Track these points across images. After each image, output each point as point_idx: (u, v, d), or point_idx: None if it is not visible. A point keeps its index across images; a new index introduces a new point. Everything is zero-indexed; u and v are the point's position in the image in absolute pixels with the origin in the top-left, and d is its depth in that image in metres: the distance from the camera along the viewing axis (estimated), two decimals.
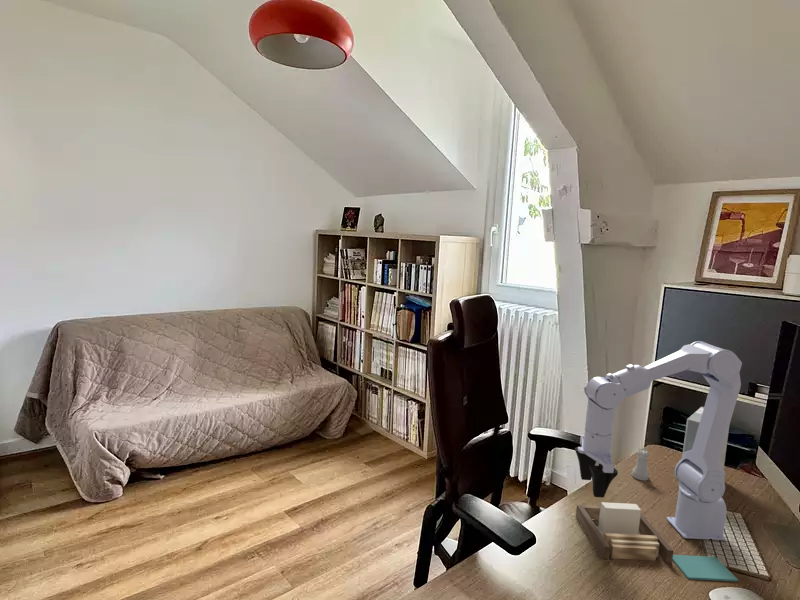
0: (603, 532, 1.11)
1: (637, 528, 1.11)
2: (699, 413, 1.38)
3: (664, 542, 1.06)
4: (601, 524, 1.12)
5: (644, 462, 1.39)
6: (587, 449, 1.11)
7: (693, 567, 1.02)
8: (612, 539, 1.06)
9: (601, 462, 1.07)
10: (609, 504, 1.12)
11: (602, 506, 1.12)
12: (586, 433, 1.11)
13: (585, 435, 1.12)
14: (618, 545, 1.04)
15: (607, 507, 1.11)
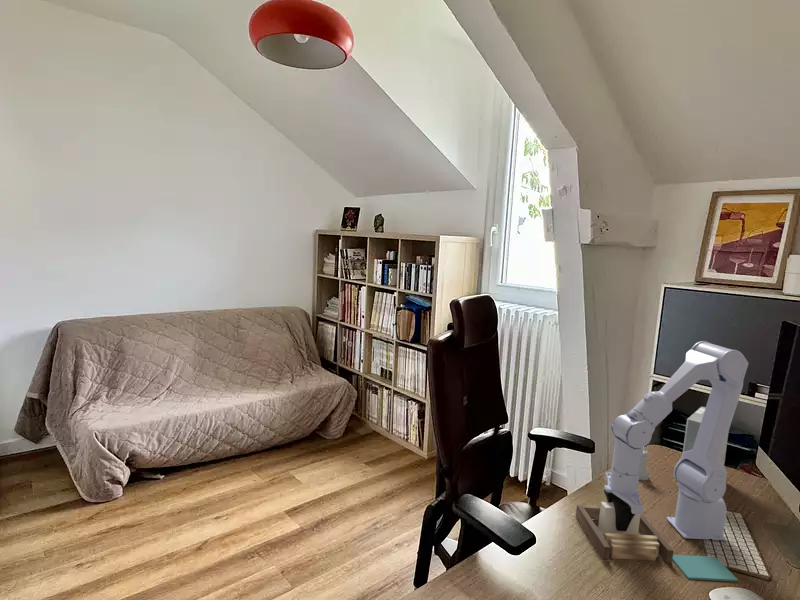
0: (603, 532, 1.11)
1: (637, 528, 1.11)
2: (699, 413, 1.38)
3: (664, 542, 1.06)
4: (601, 524, 1.12)
5: (644, 462, 1.39)
6: (614, 488, 1.10)
7: (693, 567, 1.02)
8: (612, 539, 1.06)
9: (630, 503, 1.05)
10: (609, 504, 1.12)
11: (602, 506, 1.12)
12: (613, 472, 1.10)
13: (612, 473, 1.11)
14: (618, 545, 1.04)
15: (607, 507, 1.11)
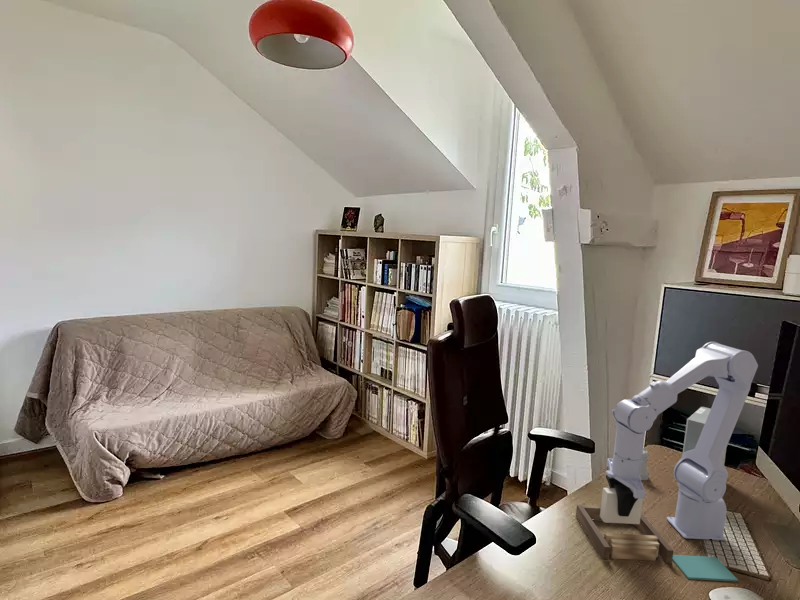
0: (605, 517, 1.11)
1: (639, 513, 1.11)
2: (699, 413, 1.38)
3: (664, 542, 1.06)
4: (603, 509, 1.12)
5: (644, 462, 1.39)
6: (616, 473, 1.09)
7: (693, 567, 1.02)
8: (612, 539, 1.06)
9: (632, 487, 1.05)
10: (611, 489, 1.12)
11: (604, 491, 1.12)
12: (615, 457, 1.10)
13: (614, 459, 1.10)
14: (618, 545, 1.04)
15: (609, 492, 1.10)
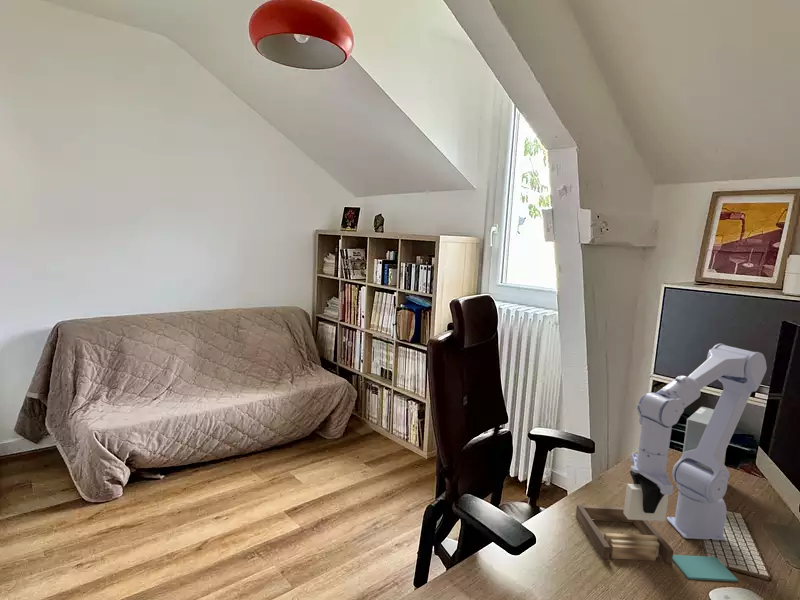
0: (629, 514, 1.07)
1: (665, 510, 1.07)
2: (699, 413, 1.38)
3: (664, 542, 1.06)
4: (627, 506, 1.08)
5: None
6: (642, 468, 1.06)
7: (693, 567, 1.02)
8: (612, 539, 1.06)
9: (659, 483, 1.02)
10: (635, 485, 1.08)
11: (628, 487, 1.08)
12: (640, 452, 1.06)
13: (639, 454, 1.07)
14: (618, 545, 1.04)
15: (634, 488, 1.07)
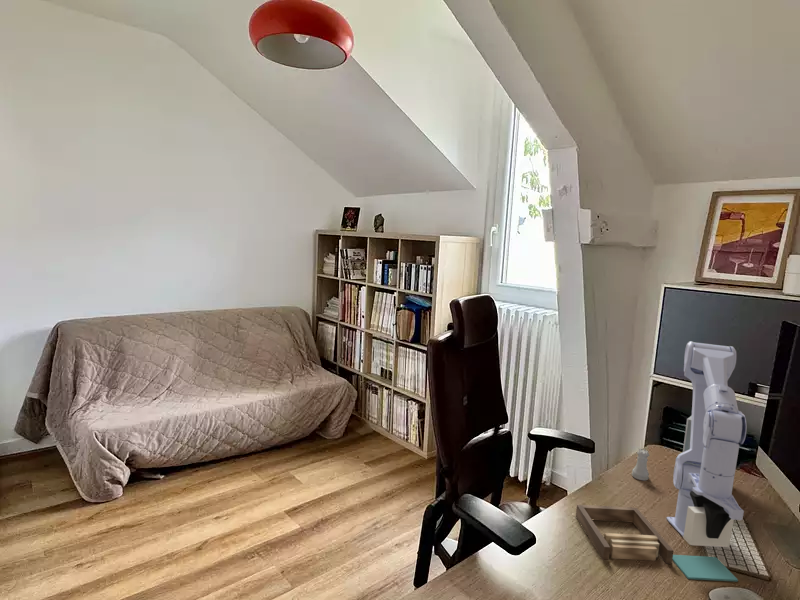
0: (691, 540, 1.00)
1: (729, 535, 1.00)
2: None
3: (664, 542, 1.06)
4: (689, 531, 1.01)
5: (644, 462, 1.39)
6: (706, 490, 0.99)
7: (693, 567, 1.02)
8: (612, 539, 1.06)
9: (727, 507, 0.94)
10: (697, 508, 1.01)
11: (690, 511, 1.01)
12: (704, 472, 0.99)
13: (702, 474, 1.00)
14: (618, 545, 1.04)
15: (696, 512, 1.00)
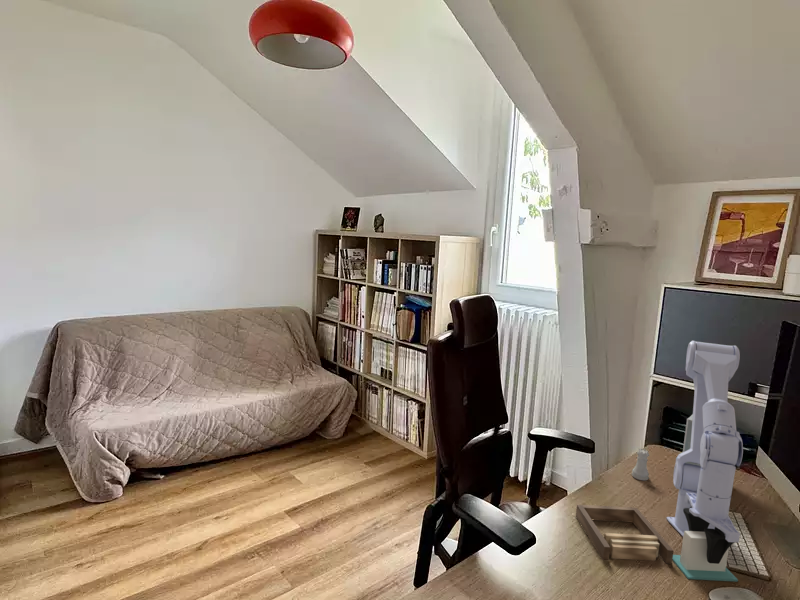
0: (688, 564, 1.01)
1: (725, 560, 1.01)
2: None
3: (664, 542, 1.06)
4: (685, 555, 1.02)
5: (644, 462, 1.39)
6: (702, 512, 0.99)
7: None
8: (612, 539, 1.06)
9: (723, 529, 0.95)
10: (694, 533, 1.02)
11: (686, 535, 1.02)
12: (701, 494, 1.00)
13: (699, 496, 1.00)
14: (618, 545, 1.04)
15: (693, 537, 1.00)
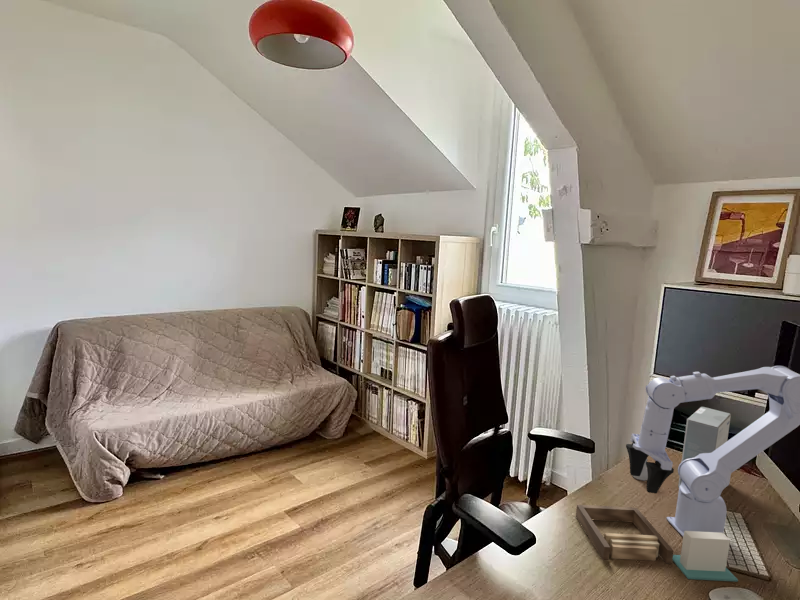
0: (688, 564, 1.01)
1: (725, 560, 1.01)
2: (699, 413, 1.38)
3: (664, 542, 1.06)
4: (685, 555, 1.02)
5: None
6: (643, 446, 1.15)
7: None
8: (612, 539, 1.06)
9: (659, 459, 1.10)
10: (694, 533, 1.02)
11: (686, 535, 1.02)
12: (643, 431, 1.15)
13: (642, 432, 1.15)
14: (618, 545, 1.04)
15: (693, 537, 1.00)
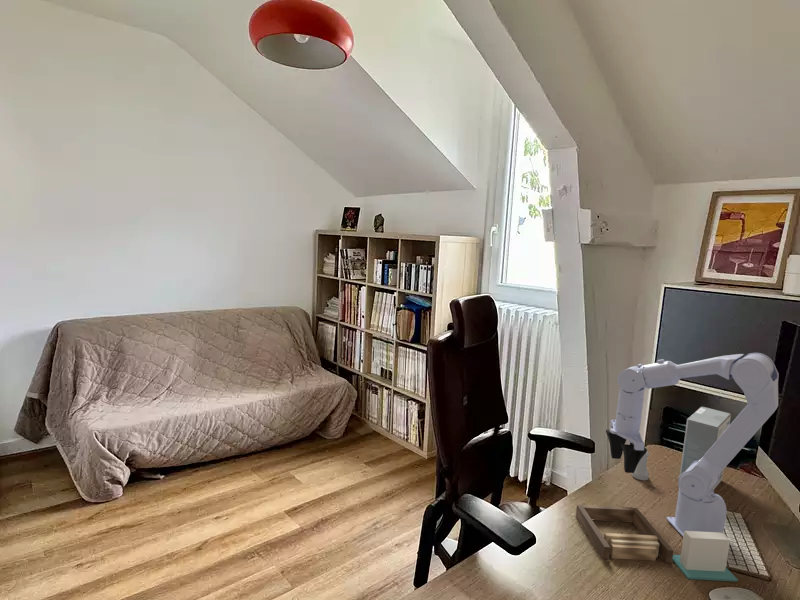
0: (688, 564, 1.01)
1: (725, 560, 1.01)
2: (699, 413, 1.38)
3: (664, 542, 1.06)
4: (685, 555, 1.02)
5: (644, 462, 1.39)
6: (619, 430, 1.24)
7: None
8: (612, 539, 1.06)
9: (632, 441, 1.20)
10: (694, 533, 1.02)
11: (686, 535, 1.02)
12: (618, 416, 1.25)
13: (617, 418, 1.25)
14: (618, 545, 1.04)
15: (693, 537, 1.00)
